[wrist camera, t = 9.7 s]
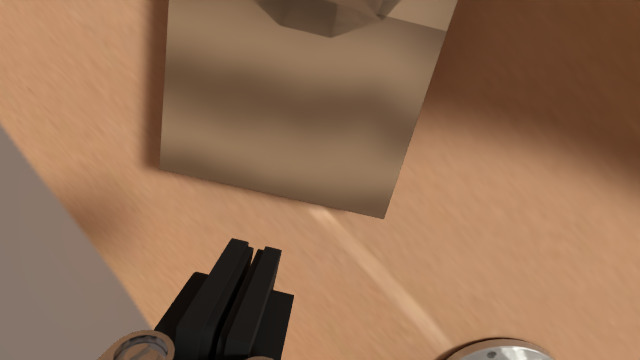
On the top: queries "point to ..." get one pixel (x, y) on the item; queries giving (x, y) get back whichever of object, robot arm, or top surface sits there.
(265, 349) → the robot arm
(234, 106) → the board
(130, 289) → the top surface
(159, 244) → the top surface
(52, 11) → the top surface
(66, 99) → the top surface
